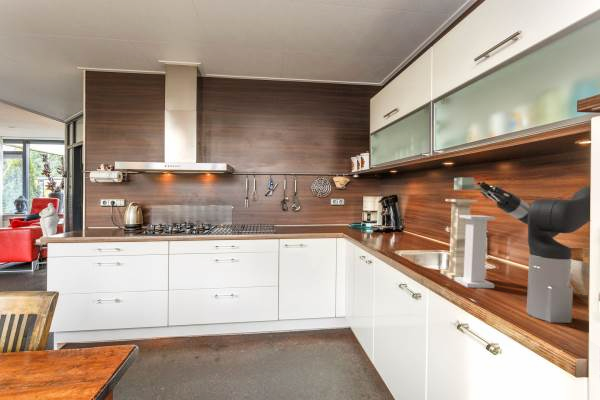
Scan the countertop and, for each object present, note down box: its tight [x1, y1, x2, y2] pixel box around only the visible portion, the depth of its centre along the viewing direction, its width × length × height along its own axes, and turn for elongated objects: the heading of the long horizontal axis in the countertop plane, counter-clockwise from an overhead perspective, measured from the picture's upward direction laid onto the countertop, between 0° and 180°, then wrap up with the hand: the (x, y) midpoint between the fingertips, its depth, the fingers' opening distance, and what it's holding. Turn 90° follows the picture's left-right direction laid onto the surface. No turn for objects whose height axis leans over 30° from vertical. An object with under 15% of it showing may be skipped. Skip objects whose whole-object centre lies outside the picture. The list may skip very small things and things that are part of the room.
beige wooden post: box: [440, 198, 479, 280], centre depth 129 cm, size 9×10×32 cm
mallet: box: [453, 176, 503, 192], centre depth 129 cm, size 6×18×5 cm, turn 92°
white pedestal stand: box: [453, 214, 496, 289], centre depth 118 cm, size 9×10×26 cm
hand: (479, 183), depth 129 cm, fingers closed on mallet, 2 cm apart
